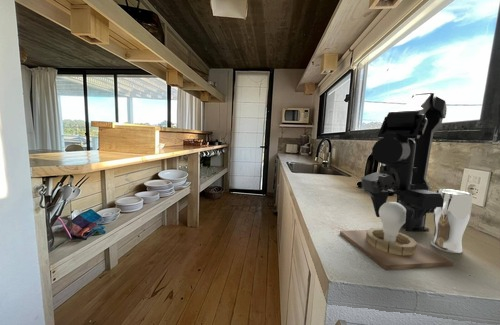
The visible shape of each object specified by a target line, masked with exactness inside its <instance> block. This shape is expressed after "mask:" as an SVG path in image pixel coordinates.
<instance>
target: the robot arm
mask: <svg viewBox="0 0 500 325" xmlns="http://www.w3.org/2000/svg"><path fill="white" fill-rule="evenodd" d="M447 110H448V109H447V103H446V100H444V99H442V98H440V97H438V96H437V94H436V92H433V91H427V92H418V93H415V94H413V95H412V96H411V99H410V100H409V101H408V102H407V103H406V104H405V105H404V106H403V107H402V108H396V109H393V110H390V111H389V112H388V113H387V115H385V116H384V118H383V121H382V124H381V127H380V129H379V132H378V134H377V137H378V139H379V138H380V139H379V140H377V141H375V143H374V145H373V146H372V148H371V149H372V150H371V153H372V157H373V159H374V160H375V161H376V162H378V163H380V166H379V170H378V171H376V172H372V173H369V174H367V175H364V176H361V178H360V179H361V180H360V181H361V183H360V188H362V189H363V191H364V192H366V193H367V194H368V195H369V196H370V198H371V202H372V205H373V209H374V212H375V216H376V217H377V218H380V216H379V209H380V207H381V206H382V205H383V204H384V203H387V202H388V201H387V200H388V197H389V195H390V193H391V194H395V195H396V203H399V204H401V205H402V206H404V207H405V209H406V221H405V223H404V225H403V226H402V227H403V228H404V230H405V232H408V233H410V232H417V231H418V232H422V231H423V232H424V231H430V228H428V227H426V226H425V225H426V219H427V214H434V209H436V207H443V202H444V198H443V196H442V195H441V194H440V193H437V191H432V187H431V186H430V184H429V182H428V180H427V174H428V167H429V162H430V156H431V150H432V144H433V137H434V134H435V132H436V131H437V130H438V129H439V128H440V127H441V126H442V123H443V120H444V119H445V118H446V117H447Z"/></svg>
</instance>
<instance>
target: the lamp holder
mask: <svg viewBox="0 0 500 325" xmlns="http://www.w3.org/2000/svg"><path fill="white" fill-rule="evenodd" d="M339 235H340V236H342V237H343V238H344V239H345V240H347V241H348V242H349V243H350V244H352V245H353V246H354V247H355V248H356V249H358V250H359V251H361V252H362V253H363V254H364V255H366V256H367V257H368V258H369V259H371V260H372V261H373V262H374V263H376V264H377V265H379V267H381V268H382V269H384V270H385V271H389V270H391V271H393V270H405V269H406V270H407V269H421V268H422V269H423V268H437V267H438V268H440V267H452V266H454V261H453V260H451V259H450V258H448V257H445V256H443V255H442V254H440V253H438V252H436V251H434V250H433V249H430V248H428V247H427V246H425V245H423V244H420V243H419V242H417V241H416V240H415V239H414V238H412V237H411V236H409V235H407V234H405V233H403V232H400V231H399V232H398V235H397V236H396V241H395V243H389V242H386V241H384V232H383V228H382V227H380V228H379V227H373V228H372V227H371V228H369V229H363V230H362V229H357V230H339Z"/></svg>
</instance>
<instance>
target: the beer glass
mask: <svg viewBox="0 0 500 325" xmlns="http://www.w3.org/2000/svg"><path fill="white" fill-rule="evenodd" d="M436 193H440V194H441V195H442V196H443V198H444V202H443V207H436V209H434V213H433V221H434V222H433V223H434V233H433V236H432V239H431V241H430V245H431V246H432V247H434V248H436V249H438V250H441V251H443V252H447V253H451V254H462V253H463V244H462V243H463V242H462V241H463V240H462V239H463V236H464V233H465V230H466V228H467V226H468V223H469V221H470V218H471V214H472V206H473V194H472V193H470V192H466V191H462V190H461V191H460V190H455V189H449V188H447V189H445V188H438V189H436Z"/></svg>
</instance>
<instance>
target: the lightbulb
mask: <svg viewBox="0 0 500 325" xmlns="http://www.w3.org/2000/svg"><path fill="white" fill-rule="evenodd" d="M379 216H380V217H379V218H380V221H381V222H382V227H383V228H382V229H383V232H384V241H386V242H389V243H395V241H396V236H397V235H398V232H400V230H401V228H402V227H403V225H404V223H405V221H406V209H405V207H404V206H402V205H401V204H399V203H397V201H386V203H384V204H383V205H382V206H381V207H380V209H379Z"/></svg>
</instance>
